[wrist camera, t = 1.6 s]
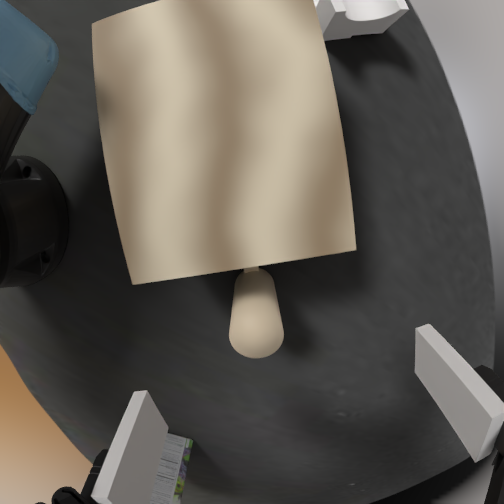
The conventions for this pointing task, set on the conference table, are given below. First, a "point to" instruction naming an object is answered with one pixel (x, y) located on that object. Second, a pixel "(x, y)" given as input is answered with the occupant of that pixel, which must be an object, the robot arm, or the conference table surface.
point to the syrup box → (172, 470)
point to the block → (255, 315)
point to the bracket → (357, 16)
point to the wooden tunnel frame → (221, 136)
